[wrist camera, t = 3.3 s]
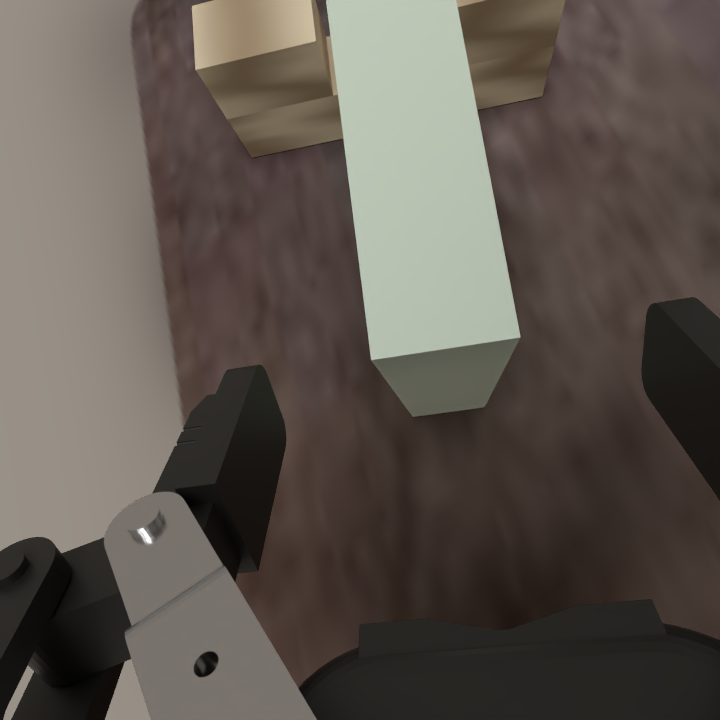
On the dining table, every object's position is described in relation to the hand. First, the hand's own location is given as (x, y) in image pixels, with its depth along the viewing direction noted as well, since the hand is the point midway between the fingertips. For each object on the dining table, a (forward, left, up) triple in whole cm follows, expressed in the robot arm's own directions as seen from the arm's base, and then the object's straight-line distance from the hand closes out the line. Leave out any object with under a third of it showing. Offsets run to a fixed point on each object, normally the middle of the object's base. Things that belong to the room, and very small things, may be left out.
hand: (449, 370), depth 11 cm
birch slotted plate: (-6, -14, -11) cm, 19 cm away
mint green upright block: (-2, -4, -11) cm, 12 cm away
